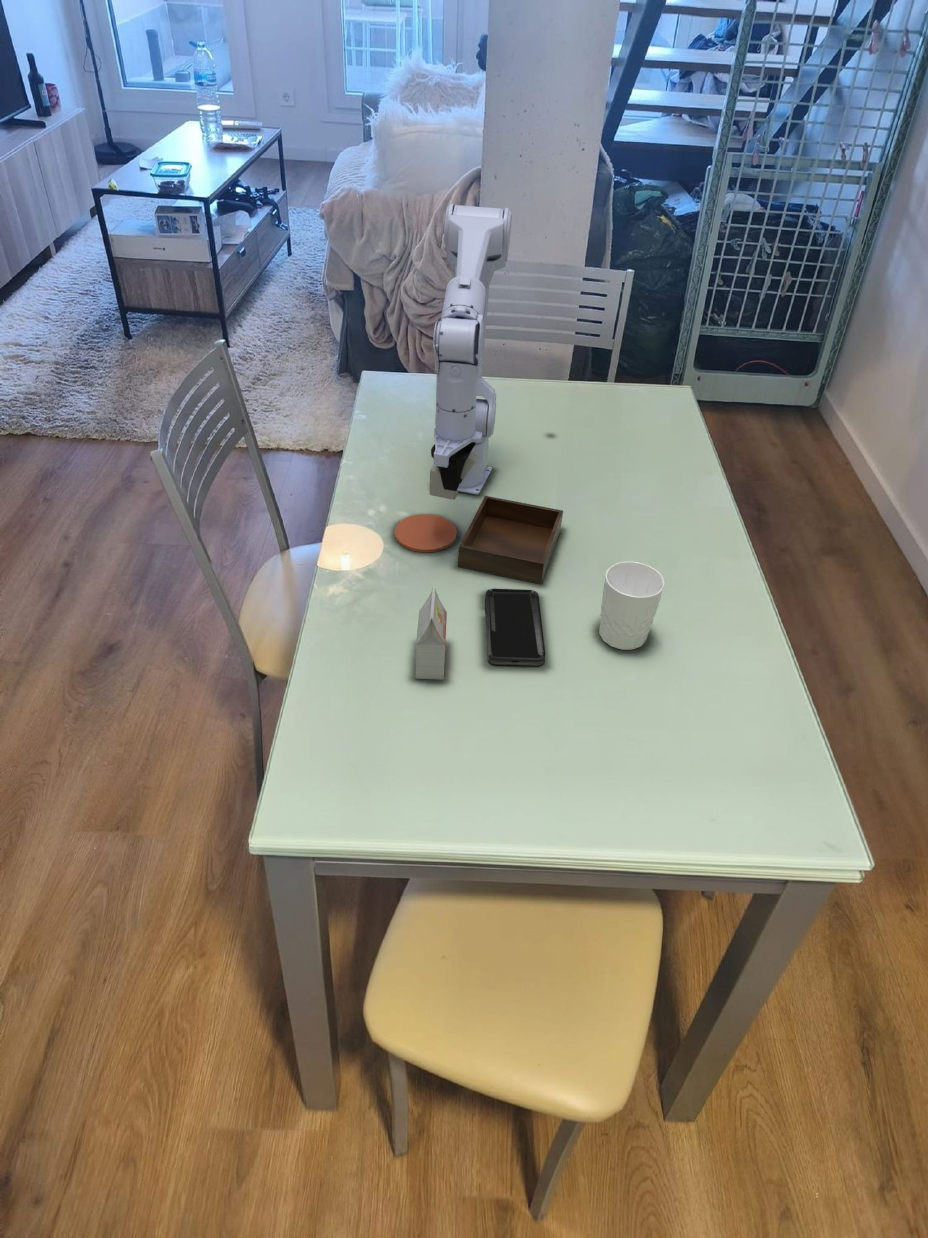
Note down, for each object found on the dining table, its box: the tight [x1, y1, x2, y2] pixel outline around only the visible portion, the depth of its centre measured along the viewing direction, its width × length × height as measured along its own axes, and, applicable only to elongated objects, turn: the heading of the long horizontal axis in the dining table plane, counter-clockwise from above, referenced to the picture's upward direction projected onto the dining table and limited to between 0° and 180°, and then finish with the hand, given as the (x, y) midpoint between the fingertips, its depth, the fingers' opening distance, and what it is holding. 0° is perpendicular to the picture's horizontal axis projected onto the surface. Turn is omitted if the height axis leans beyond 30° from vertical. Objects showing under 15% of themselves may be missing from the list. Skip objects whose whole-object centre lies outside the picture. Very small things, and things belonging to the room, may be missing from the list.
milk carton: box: [415, 587, 448, 681], centre depth 107 cm, size 4×7×10 cm, turn 179°
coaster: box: [394, 513, 458, 553], centre depth 133 cm, size 10×10×1 cm
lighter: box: [428, 451, 479, 501], centre depth 124 cm, size 7×2×8 cm, turn 75°
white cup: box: [598, 560, 666, 651], centre depth 113 cm, size 8×8×10 cm
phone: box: [484, 588, 546, 667], centre depth 116 cm, size 8×1×15 cm
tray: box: [457, 495, 564, 585], centre depth 130 cm, size 15×13×4 cm
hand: (452, 485), depth 126 cm, fingers closed on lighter, 2 cm apart
